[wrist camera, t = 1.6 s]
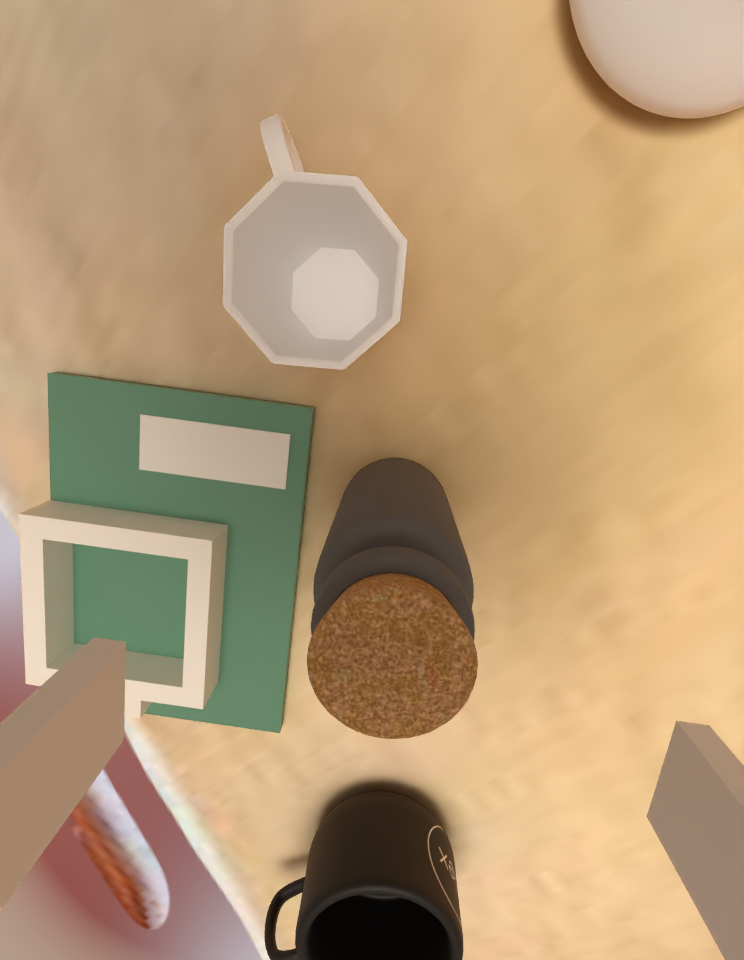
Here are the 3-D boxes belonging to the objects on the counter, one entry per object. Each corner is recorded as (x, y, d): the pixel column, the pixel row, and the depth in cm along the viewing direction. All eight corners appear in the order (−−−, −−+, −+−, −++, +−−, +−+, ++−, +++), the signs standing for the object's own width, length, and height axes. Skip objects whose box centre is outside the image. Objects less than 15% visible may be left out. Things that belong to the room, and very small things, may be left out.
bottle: (351, 448, 28) (300, 551, 13) (457, 467, 28) (522, 590, 13) (334, 547, 29) (273, 738, 15) (436, 565, 29) (473, 774, 15)
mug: (420, 757, 33) (427, 866, 26) (470, 864, 34) (488, 993, 27) (252, 810, 34) (215, 926, 27) (308, 910, 36) (286, 1042, 29)
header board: (57, 372, 28) (12, 374, 24) (314, 406, 27) (303, 414, 24) (63, 692, 33) (27, 729, 29) (282, 724, 32) (269, 764, 29)
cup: (296, 385, 27) (255, 398, 19) (228, 187, 25) (152, 112, 17) (424, 344, 26) (435, 340, 19) (365, 135, 24) (350, 32, 16)
